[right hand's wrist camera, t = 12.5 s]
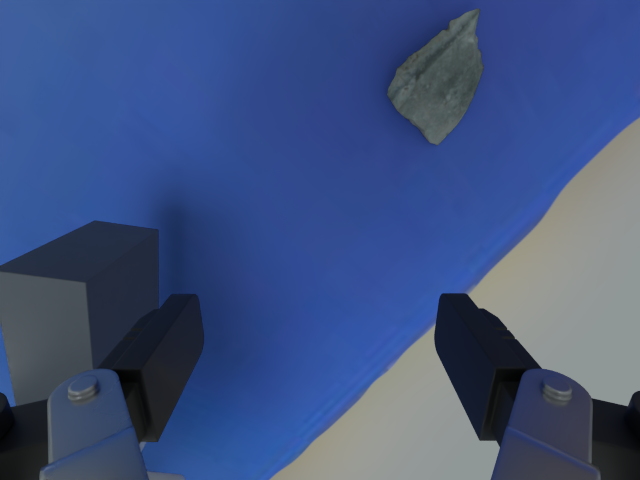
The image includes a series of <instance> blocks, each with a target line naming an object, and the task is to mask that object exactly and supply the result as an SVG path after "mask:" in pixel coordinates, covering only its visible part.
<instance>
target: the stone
mask: <svg viewBox="0 0 640 480" xmlns="http://www.w3.org/2000/svg"><path fill="white" fill-rule="evenodd" d="M479 13H480V9H478V8H477V9H475V10H473V11H469V12H466V13H464V14H463V15H462V16H461V17H459V18H457V19H454V20H451V21H450V23H449V25H448V28H447V30H442V31H441V32H440V33H439V34H438V35H437V36H435V37H434V38H433V39H431V40H430V42H429V43H427V44H426V45H425V46H424V47H422V48H421V49H420V50H419V51H417V52H415V53H413V54H412V55H411V56H409V57H408V58H407V60H406V61H405V62H404V63H403V64H402V65H401V66H399V67H398V68H397V71H396V75H395V77H394V79H393V80H392V82H391V84H390V86H389V89H388V93H387V96H388V97H389V99H390V100H391V102H392V104H393V105H394V107H395V108H396V109H397V111H398V112H399V113H400V114H401V115H403V116H404V117H405V118H406V119H409V121H410V122H411V123H412V124H413V125H414V126H416V127H417V128H418V129H419V130H420V131H421V133H422V134H423V135H424V137H425V138H426V139H427V140H428V141H429V142H430V143H431V144H432V143H433V144H436V145H439V144H440V143H441V142H442V141H443V139H444V138H445V137H446V136H447V135H448V134H449V133H450V132H451V131H452V130H453V129H454V128H455V126H456V125H457V124H458V123H459V121H460V120H461V118H462V117H463V115H464V114H465V112H466V111H467V109H468V107H469V105H470V103H471V101H472V99H473V96H474V94H475V91H476V89H477V86H478V83H479V80H480V77H481V74H482V72H483V69H484V66H483V64H482V61H481V56H482V55H481V52H480V50H479V49H477V42H478V38H477V37H476V35H475V30H476V26H477V20H478V17H479Z"/></svg>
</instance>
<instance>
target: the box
mask: <svg viewBox="0 0 640 480" xmlns="http://www.w3.org/2000/svg"><path fill="white" fill-rule="evenodd" d="M154 309H159V262H158V229H151V228H144V227H137V226H130V225H123V224H116V223H109V222H101V221H93V222H91V223H89V224H86V225H84V226H82V227H80V228H78V229H76V230H74V231H72V232H70V233H68V234H66V235H64V236H61V237H59V238H57V239H55V240H53V241H51V242H49V243H47V244H45V245H43V246H41V247H38V248H36V249H34V250H32V251H30V252H28V253H26V254H24V255H22V256H20V257H18V258H15V259H13V260H11V261H9V262H7V263H5V264H3V265H1V266H0V323H1V328H2V334H3V339H4V344H5V350H6V355H7V361H8V366H9V371H10V377H11V382H12V387H13V393H14V398H15V403H16V406H19V405H23V404H28V403H32V402H37V401H41V400H45V399H49V396H50V395H51V393H52V392H53V391H54V390H55V389H56V388H57V387H58V386H59V385H60V384H62V383H63V382H64V381H66V380H68V379H69V378H71V377H73V376H75V375H77V374H80V373H82V372H85V371H89V370H93V369H96V368H97V367H98V366H99V365H100V363H101V362H102V361H103V360H104V359H105V358H106V357H107V355H108V354H109V353H110V352H111V351H112V350H113V349H114V347H115V346H116V345H117V344H118V343H119V342H120V341H121V340H123V337H124V336H125V335H126V334H127V332H128V331H131V328H132V327H133V326H134V324H135V323H136V322H137V321H138V320H139V319H140V318H141V317H143V316H144V315H146V314H147V313H149V312H151V311H152V310H154Z"/></svg>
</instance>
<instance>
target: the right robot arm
mask: <svg viewBox="0 0 640 480" xmlns="http://www.w3.org/2000/svg"><path fill="white" fill-rule="evenodd" d="M434 340H435V347H436V351H437V354H438V356H439V358H440V360H441V362H442V364H443V366H444V368H445V370H446V372H447V374H448V376H449V378H450V380H451V383H452V385H453V387H454V389H455V391H456V393H457V395H458V397H459V399H460V401H461V403H462V405H463V407H464V409H465V411H466V413H467V415H468V417H469V420H470V422H471V424H472V426H473V428H474V430H475V432H476V434H477V436H478V438H479V440H480V441H497V443H498V444H499V446H500V450H499V453H498V457H497V460H496V464H495V467H494V470H493V474H492V477H491V480H640V391H637V392H635V393H634V394H633V395H632V398H631V400H630V403H629V405H628V406H624V405H619V404H615V403H610V402H606V401H601V400H597V399H592V398H591V396H590V395H589V393H588V392H587V391H586V390H585V389H584V388H583V387H582V386H581V385H580V384H578V383H577V382H576V381H574V380H572V379H571V378H569V377H567V376H565V375H563V374H560V373H558V372H554V371H551V370H547V369H542V368H541V367H540V366H539V365H538V363H537V362H536V361H535V360H534V359H533V358H532V357H531V355H530V354H529V353H528V352H527V351H526V350H525V348H524V347H523V346H522V345H521V344H520V343H519V341H518V340H517V339H515V337H514V336H513V334H512V333H511V332H510V331H509V330H507V328H506V326H505V325H504V324H503V323H502V322H501V321H500V319H499V318H498V317H496V316H495V315H493V314H491V313H490V312H488V311H487V310H485V309H479V308H478V307H477V306H476V305H475V303H474V302H473V301H472V300H471V299H470V297H469V296H468V295H467V294H465V293H443V294H441V296H440V299H439V305H438V312H437V319H436V326H435V334H434ZM203 343H204V332H203V325H202V318H201V311H200V304H199V299H198V296H197V295H196V294H172V295H170V297H169V298H168V299H167V300H166V301H165V303H164V304H163V305H162V306H161V308H160V309H154V310H152V311H151V312H149V313H147V314H146V315H144V316H143V317H141V318H140V319H139V320H138V321H137V322H136V323H135V324H134V326H133V327H132V328H131V331H128V332H127V334H126V335H125V336H124V337H123V340H121V341H120V342H119V343H118V344H117V345H116V346H115V347H114V349H113V350H112V351H111V352H110V353H109V354H108V355H107V357H106V358H105V359H104V360H103V361H102V362H101V363H100V365H99V366H98V367H97V368H96V369H93V370H89V371H85V372H82V373H80V374H77V375H75V376H73V377H71V378H69V379H68V380H66V381H64V382H63V383H62V384H60V385H59V386H58V387H57V388H56V389H55V390H54V391H53V392H52V393H51V395H50V396H49V399H45V400H41V401H37V402H32V403H28V404H23V405H19V406H14V407H10V405H9V402H8V400H7V398H6V396H5V395H4V394H3V393H1V392H0V480H149V477H148V474H147V470H146V467H145V464H144V460H143V457H142V453H141V450H140V447H139V444H140V442H158V440H159V438H160V436H161V434H162V432H163V430H164V428H165V426H166V424H167V422H168V420H169V418H170V416H171V414H172V412H173V410H174V408H175V406H176V404H177V402H178V400H179V398H180V395H181V393H182V391H183V389H184V387H185V385H186V383H187V381H188V379H189V377H190V375H191V373H192V371H193V369H194V367H195V365H196V363H197V361H198V359H199V357H200V355H201V352H202V349H203Z"/></svg>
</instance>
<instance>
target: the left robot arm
mask: <svg viewBox="0 0 640 480" xmlns="http://www.w3.org/2000/svg"><path fill="white" fill-rule="evenodd" d="M145 444H146V442H140V444H139V447H140V450H141V451H142V449H143V447H144V446H145ZM147 474H148V477H149V480H186V479H185V478H184V476H183V475H180V474H170V473H160V472H150V471H147Z"/></svg>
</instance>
